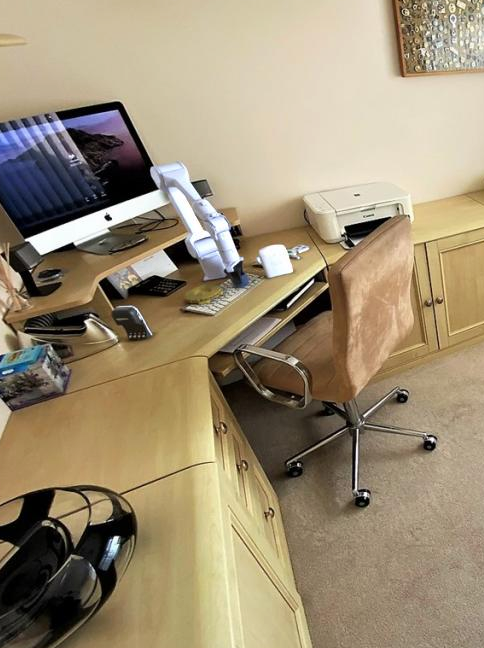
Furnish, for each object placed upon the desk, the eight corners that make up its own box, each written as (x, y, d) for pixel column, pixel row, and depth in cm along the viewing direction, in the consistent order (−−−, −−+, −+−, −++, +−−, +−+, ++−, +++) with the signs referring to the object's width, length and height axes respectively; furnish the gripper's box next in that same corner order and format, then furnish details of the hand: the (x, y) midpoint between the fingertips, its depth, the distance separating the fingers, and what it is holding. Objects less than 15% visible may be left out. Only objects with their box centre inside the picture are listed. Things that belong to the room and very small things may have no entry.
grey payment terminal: (125, 342, 136) (105, 311, 130) (133, 335, 139) (114, 305, 133) (147, 341, 136) (128, 310, 130) (154, 334, 140) (137, 304, 133)
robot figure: (272, 269, 178) (317, 251, 193) (270, 262, 176) (315, 244, 191) (251, 261, 186) (295, 244, 201) (248, 254, 184) (293, 237, 199)
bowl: (234, 283, 169) (230, 273, 166) (250, 280, 170) (246, 270, 168) (232, 289, 164) (228, 279, 162) (248, 286, 166) (244, 276, 164)
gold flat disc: (204, 306, 154) (201, 301, 153) (179, 302, 157) (176, 297, 156) (230, 291, 163) (228, 286, 162) (206, 287, 166) (203, 282, 165)
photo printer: (292, 269, 178) (283, 241, 171) (294, 272, 175) (285, 244, 168) (265, 275, 174) (255, 247, 167) (267, 279, 171) (257, 251, 164)
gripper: (236, 254, 154) (249, 287, 162) (240, 240, 166) (253, 271, 173) (214, 257, 152) (228, 290, 160) (220, 243, 164) (233, 274, 171)
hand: (240, 281), depth 166 cm, fingers closed on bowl, 5 cm apart
